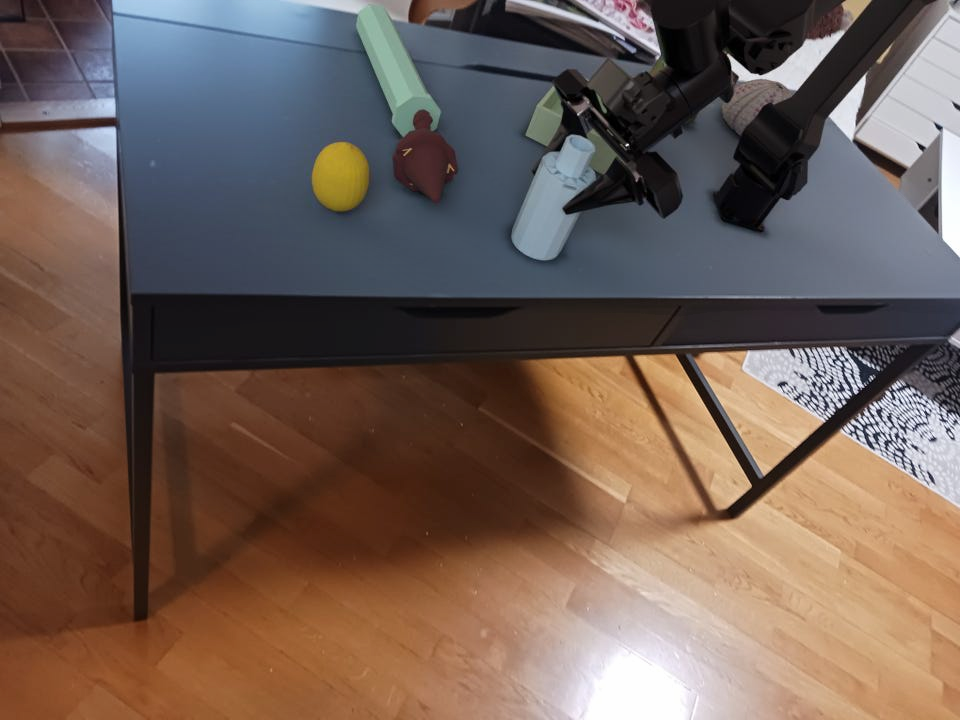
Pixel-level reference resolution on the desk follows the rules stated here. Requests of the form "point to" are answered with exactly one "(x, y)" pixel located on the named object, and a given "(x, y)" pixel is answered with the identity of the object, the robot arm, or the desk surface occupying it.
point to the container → (394, 69)
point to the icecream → (424, 159)
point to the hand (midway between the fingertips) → (548, 192)
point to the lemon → (340, 176)
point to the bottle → (553, 199)
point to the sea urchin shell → (752, 101)
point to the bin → (549, 121)
